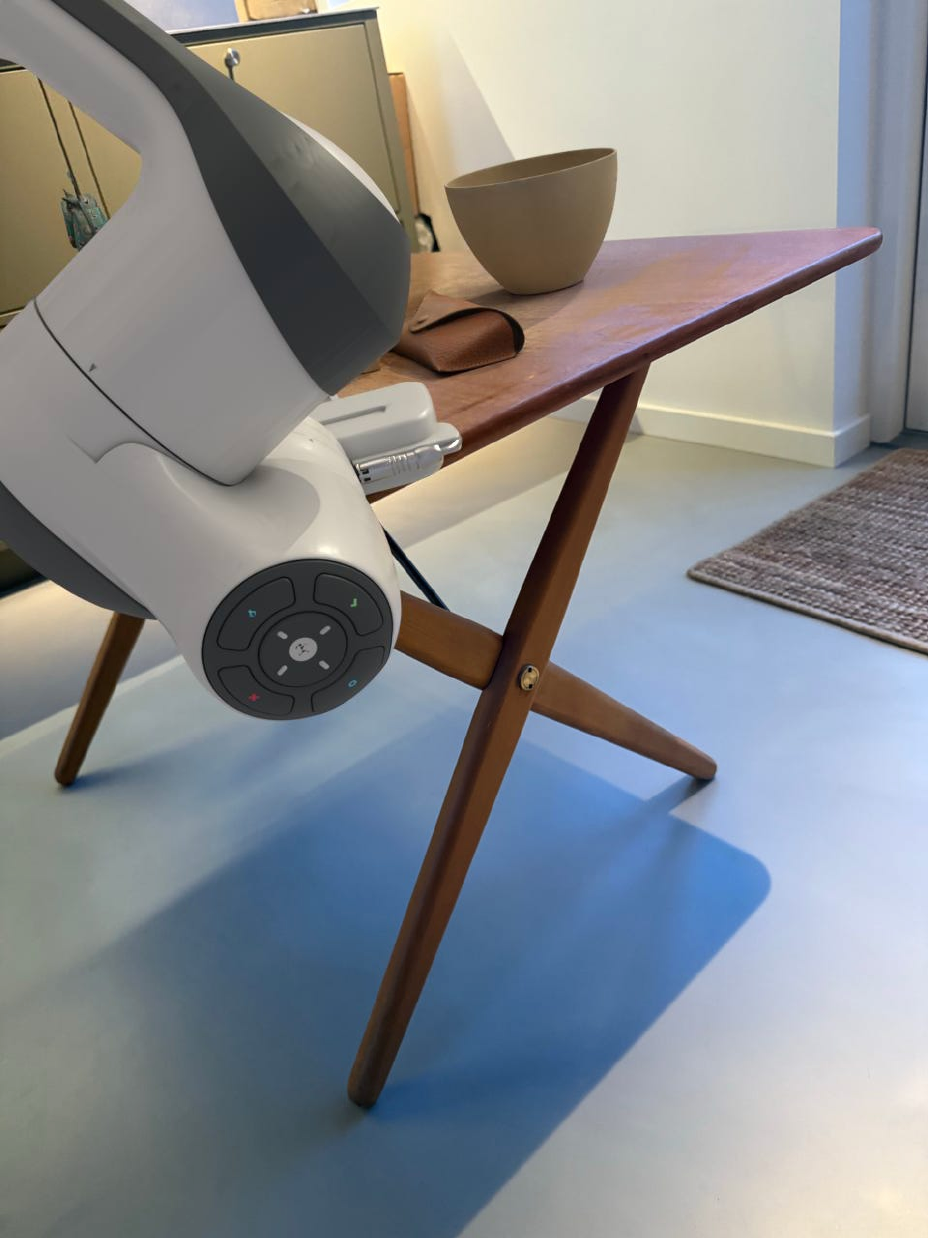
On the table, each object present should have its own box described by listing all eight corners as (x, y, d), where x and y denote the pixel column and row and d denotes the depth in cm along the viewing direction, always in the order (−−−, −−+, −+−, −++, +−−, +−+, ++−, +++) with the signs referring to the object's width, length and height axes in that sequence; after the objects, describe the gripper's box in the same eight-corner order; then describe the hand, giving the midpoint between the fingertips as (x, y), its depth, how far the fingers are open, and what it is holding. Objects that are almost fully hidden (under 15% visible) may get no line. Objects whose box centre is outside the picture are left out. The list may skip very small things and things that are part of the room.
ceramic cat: (98, 323, 144) (45, 175, 135) (142, 312, 146) (93, 164, 136) (110, 344, 127) (50, 176, 118) (160, 331, 129) (105, 165, 120)
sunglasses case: (367, 343, 98) (386, 274, 96) (429, 362, 102) (449, 296, 100) (440, 373, 83) (464, 293, 81) (510, 394, 87) (535, 318, 85)
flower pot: (441, 296, 114) (419, 183, 108) (578, 258, 119) (565, 147, 113) (506, 317, 99) (485, 187, 93) (661, 272, 104) (650, 145, 98)
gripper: (459, 387, 49) (405, 335, 61) (38, 496, 46) (69, 419, 58) (482, 505, 52) (426, 433, 64) (88, 614, 49) (107, 517, 61)
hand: (253, 427), depth 61 cm, fingers open, 8 cm apart
